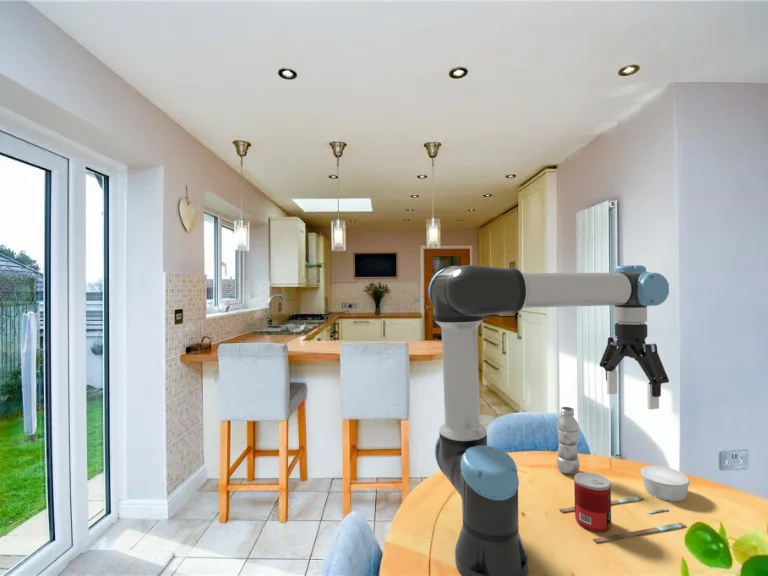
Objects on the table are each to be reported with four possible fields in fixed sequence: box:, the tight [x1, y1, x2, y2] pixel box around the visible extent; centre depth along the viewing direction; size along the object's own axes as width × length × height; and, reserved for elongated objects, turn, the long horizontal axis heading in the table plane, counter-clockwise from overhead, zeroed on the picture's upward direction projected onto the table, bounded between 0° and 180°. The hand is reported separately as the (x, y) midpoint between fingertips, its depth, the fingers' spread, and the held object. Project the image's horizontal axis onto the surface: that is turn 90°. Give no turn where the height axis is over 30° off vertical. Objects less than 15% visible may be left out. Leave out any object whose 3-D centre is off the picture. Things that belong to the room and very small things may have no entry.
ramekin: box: [640, 465, 690, 502], centre depth 111 cm, size 11×11×5 cm
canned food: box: [573, 471, 612, 533], centre depth 99 cm, size 8×8×11 cm
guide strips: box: [559, 496, 687, 544], centre depth 101 cm, size 27×14×1 cm, turn 102°
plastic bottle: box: [556, 406, 580, 475], centre depth 124 cm, size 6×7×20 cm
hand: (631, 400), depth 108 cm, fingers open, 13 cm apart
